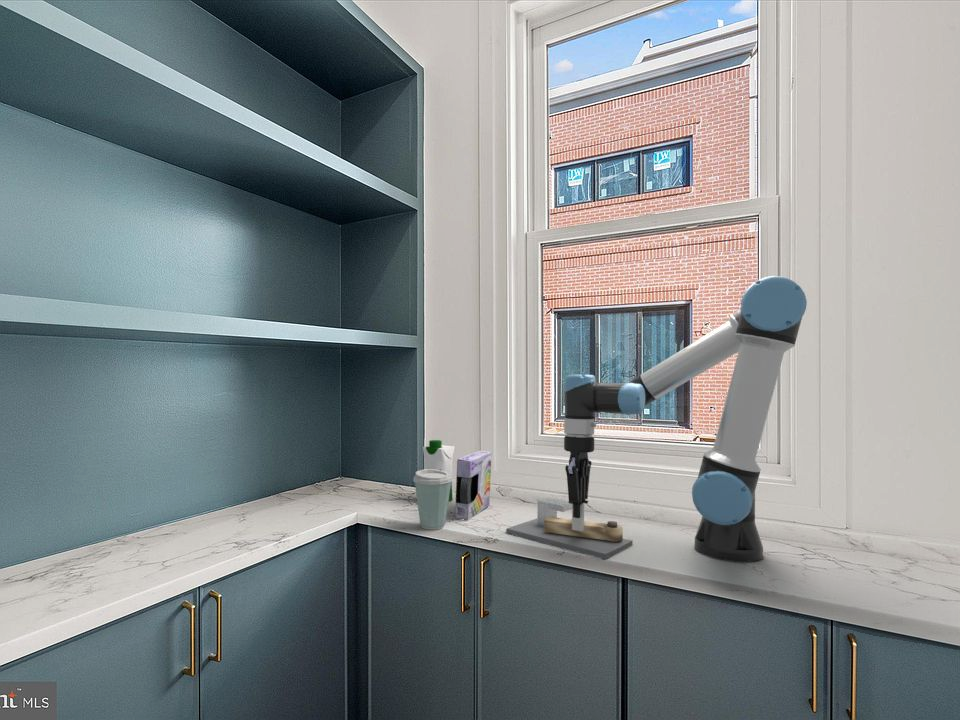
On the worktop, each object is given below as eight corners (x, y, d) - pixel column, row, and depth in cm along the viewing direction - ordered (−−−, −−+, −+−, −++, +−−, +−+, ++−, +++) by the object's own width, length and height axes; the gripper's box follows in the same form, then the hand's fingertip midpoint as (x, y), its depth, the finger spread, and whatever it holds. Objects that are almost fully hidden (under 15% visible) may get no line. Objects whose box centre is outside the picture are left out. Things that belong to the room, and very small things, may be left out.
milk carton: (418, 502, 174) (420, 440, 175) (435, 496, 182) (436, 437, 182) (440, 505, 170) (442, 442, 170) (456, 500, 177) (458, 440, 178)
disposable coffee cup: (459, 525, 148) (460, 471, 148) (434, 535, 139) (436, 477, 139) (429, 519, 153) (430, 467, 154) (403, 528, 144) (405, 472, 145)
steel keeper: (572, 531, 144) (572, 502, 144) (562, 535, 140) (562, 505, 140) (547, 525, 149) (547, 497, 149) (537, 529, 145) (537, 500, 146)
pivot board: (632, 545, 133) (632, 540, 133) (605, 559, 123) (605, 554, 123) (536, 522, 152) (536, 518, 152) (506, 533, 142) (506, 528, 142)
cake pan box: (468, 522, 152) (469, 459, 152) (452, 520, 154) (453, 458, 154) (491, 507, 170) (492, 451, 170) (476, 505, 171) (477, 450, 172)
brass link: (623, 537, 135) (623, 521, 135) (621, 542, 130) (621, 526, 130) (548, 527, 142) (548, 512, 142) (543, 532, 138) (543, 516, 138)
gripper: (584, 438, 128) (583, 538, 127) (601, 434, 139) (600, 526, 138) (555, 436, 131) (554, 533, 130) (574, 432, 143) (572, 522, 142)
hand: (578, 529), depth 134 cm, fingers closed
